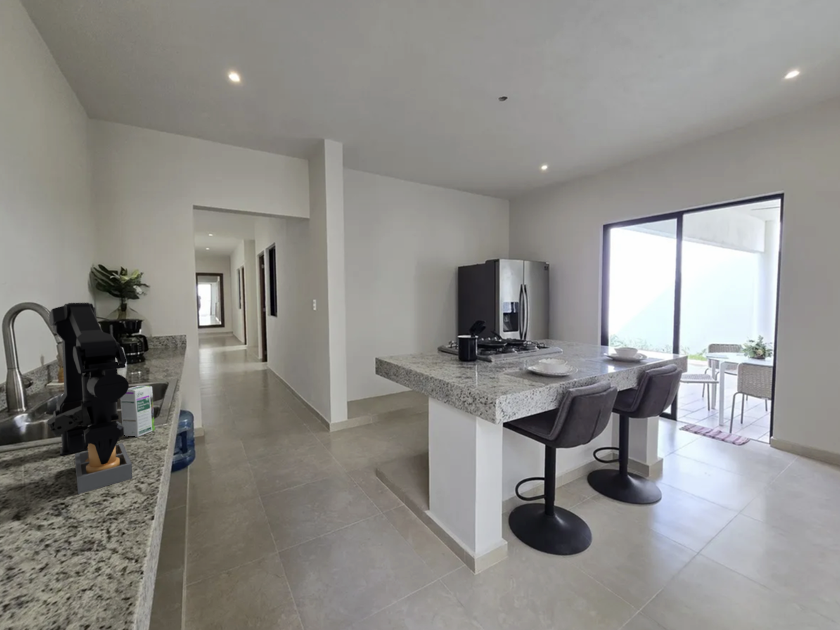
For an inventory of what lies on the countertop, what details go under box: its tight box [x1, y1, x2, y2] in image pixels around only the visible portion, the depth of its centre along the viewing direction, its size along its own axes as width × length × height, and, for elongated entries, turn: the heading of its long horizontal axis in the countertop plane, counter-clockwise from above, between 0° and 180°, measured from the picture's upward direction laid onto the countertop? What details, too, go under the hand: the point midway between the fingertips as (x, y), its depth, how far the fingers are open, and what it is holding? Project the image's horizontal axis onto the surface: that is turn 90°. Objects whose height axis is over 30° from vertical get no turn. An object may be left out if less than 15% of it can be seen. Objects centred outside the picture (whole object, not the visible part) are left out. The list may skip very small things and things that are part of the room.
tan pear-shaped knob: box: [86, 443, 120, 474], centre depth 82 cm, size 6×6×7 cm
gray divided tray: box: [74, 442, 133, 495], centre depth 85 cm, size 17×9×6 cm, turn 45°
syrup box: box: [119, 384, 156, 438], centre depth 110 cm, size 6×6×14 cm
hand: (103, 460), depth 82 cm, fingers closed on tan pear-shaped knob, 5 cm apart
